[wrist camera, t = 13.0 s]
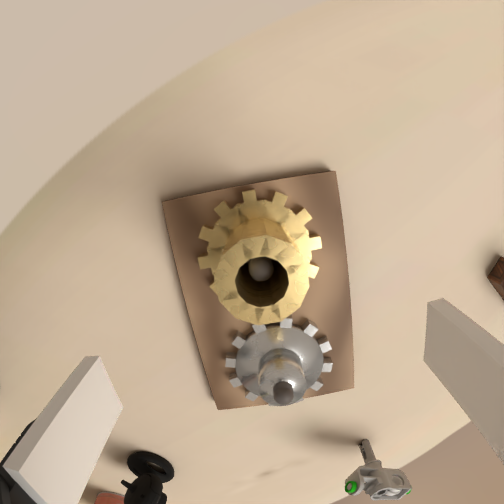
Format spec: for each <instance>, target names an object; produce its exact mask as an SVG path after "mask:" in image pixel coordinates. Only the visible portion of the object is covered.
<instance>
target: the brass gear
mask: <svg viewBox="0 0 504 504" xmlns="http://www.w3.org/2000/svg"><path fill="white" fill-rule="evenodd" d="M242 194H243V200H244V203H238V204H236V205H235V206H234V207H233V208H231V207H230V206H229V205H228V203H227V202H226V201H225V200H224V201H223V202H221V203H220V204H219V205H218V206H217V207H216V208H215V209H214V211H215V212H216V213H217V214H218V215H219V216H220V217H221V218H220V219H219V220H218V221H217V222H216V223H215V226H214V227H211V226H208V225H205V224H204V225H203V226H202V229H201V232H200V235H199V238H200V239H203V240H205V241H208V242H209V244H208V247H207V252H208V253H205V254H200V255H199V256H198V262H199V266H200V269H206V268H211V270H212V274H213V276H214V280H213V281H212V282H211V283H210V286H209V287H210V288H211V289H212V290H213V291H214V292H215V293H216V294H217V295H218V298H219V302H220V303H221V304H222V305H223V306H224V307H225V308H226V309H227V310H228V311H229V312H230V313H231V314H232V315H233V316H234V317H235V318H236V319H239V320H242V321H246V322H249V323H252V324H255V325H263V324H269V323H275V322H281V321H283V320H284V319H285V318H287V317H288V316H289V315H291V314H292V313H293V312H295V311H296V310H297V309H298V308H300V306H301V304H302V302H303V300H304V297H305V295H306V293H307V290H308V288H309V279H308V276H309V277H311V278H314V279H315V276H316V274H317V272H318V269H319V267H318V265H317V264H315V263H313V262H310V261H311V258H312V254H311V250H315V249H321V248H322V246H321V238H320V236H319V235H318V234H314V235H309V233H308V230H307V229H306V228H305V226H304V225H305V224H306V223H307V222H308V221H309V220H311V219H312V217H311V216H310V214H309V213H308V212H307V211H306V209H305V208H304V207H302V208H301V209H299V210H298V211H297V212H296V213H293V212H292V210H291V209H290V208H288V207H285V206H284V205H285V203H286V200H287V197H288V196H287V195H285V194H282V193H279V192H277V191H275V192H274V195H273V198H272V200H271V201H269V200H266V199H261V200H257V198H256V193H255V189H253V190H247V191H242ZM262 256H266V257H269V258H272V259H275V261H274V262H273V267H274V271H273V274H272V276H271V277H270V278H269V279H268V280H266V281H257V280H255V279H253V278H252V276H251V275H250V272H249V265H248V264H247V263H246V262H247V261H248V260H249V259H251V258H256V257H262Z"/></svg>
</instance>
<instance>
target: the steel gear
mask: <svg viewBox="0 0 504 504" xmlns="http://www.w3.org/2000/svg"><path fill="white" fill-rule="evenodd" d="M292 320H293V318H292V314H291V315H289V316H288V317H287V318H285V319H284V320H283V321H281V322H277V323H270V324H263V325H255V324H252V327H253V329H254V330H253V331H252V332H250V333H249V334H248V335H247V336H246V335H245V334H243V333H242V332H240V331H237V332H236V334H235V335H234V336H233V338H232V343H231V344H232V345H234V346H236V347H237V348H238V350H237V354H236V353H232V352H227V354H226V365H225V367H232V368H235V364H236V372H234V373H231V374H230V376H229V381H230V383H231V384H232V386H233V387H237V386H240V385H243V386H244V387H245V388H246V390H245V398H247V399H249V400H251V401H254V400H255V399H256V398H257V397H258V396H261V397H262V399H263V400H264V401H266V402H267V403H268V404H269V406H286V405H280V404H278V403H277V402H276V401H275V400H274V395H273V387H274V385H275V384H276V383H278V382H281V381H286V382H289V383H290V384H291V385H292V387H293V393H294V397H293V400H292V401H291V402H290V403H289V404H287V405H290V404H293V403H297V402H299V401H302V400H304V399H303V395H304V394H305V392H306V390H307V389H309V388H312V389H313V390H315V391H318V390H319V389H320V388H321V387H322V386H323V385H324V384H323V381H322V378H320V377H319V376H320V374H321V372H331V369H332V365H333V362H332V360H331V357H323V353H325V352H327V351H329V350H332V348H331V346H330V344H329V341H328V339H327V336H324V337H322V338H319V339H316V338H315V336H314V334H315V333H316V332H317V331H318V327H317V325H316V324H315V323H314V322H312V321H311V320H309V319H307V320H306V322H305V323H304V324H303V325H302V327H301V326H299V325H296V324H292ZM317 340H318V341H317Z"/></svg>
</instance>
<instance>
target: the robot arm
mask: <svg viewBox="0 0 504 504" xmlns="http://www.w3.org/2000/svg"><path fill="white" fill-rule="evenodd" d="M424 362H425V363H426V364H427V365H428V366H429V368H430V369H431V370H432V371H433V373H434V374H435V375H436V376H437V377H438V379H439V380H440V381H441V382H442V384H443V385H444V386H445V387H446V389H447V390H448V391H449V392H450V394H451V395H452V396H453V397H454V399H455V400H456V401H457V403H458V404H459V405H460V406H461V408H462V409H463V410H464V412H465V413H466V414H467V415H468V417H469V418H470V419H471V421H472V422H473V423H474V424H475V426H476V427H477V429H478V430H479V431H480V433H481V434H482V435H483V437H484V438H485V439H486V441H487V442H488V443H489V445H490V446H491V447H492V449H493V450H494V452H495V453H496V454H497V456H498V457H499V459H500V460H501V461H502V463H503V464H504V345H503V344H502V343H501V342H500V341H498V340H497V339H496V338H495V337H493V336H492V335H491V334H490V333H488V332H487V331H486V330H485V329H483V328H482V327H481V326H479V325H478V324H477V323H476V322H474V321H473V320H472V319H470V318H469V317H468V316H466V315H465V314H464V313H462V312H461V311H460V310H458V309H457V308H456V307H454V306H453V305H452V304H450V303H449V302H448V301H446V300H445V299H444V298H442V299H438V300H435V301H431V302H428V304H427V324H426V339H425V351H424ZM122 409H123V406H122V404H121V402H120V400H119V398H118V395H117V393H116V391H115V389H114V387H113V385H112V383H111V381H110V378H109V376H108V374H107V372H106V369H105V367H104V365H103V362H102V360H101V358H100V356H89V357H85V358H84V359H83V360H82V361H81V362H80V364H79V365H78V366H77V367H76V369H75V370H74V371H73V372H72V374H71V375H70V376H69V377H68V379H67V380H66V381H65V382H64V384H63V385H62V386H61V387H60V389H59V390H58V391H57V393H56V394H55V395H54V396H53V398H52V399H51V400H50V402H49V403H48V404H47V406H46V407H45V408H44V409H43V411H42V412H41V413H40V415H39V416H38V417H37V418H36V419H35V420H34V421H33V422H31V423H30V424H29V425H27V427H26V428H25V429H24V431H23V432H22V433H21V436H19V437H18V439H17V440H16V444H15V443H14V444H13V446H12V447H11V448H10V450H9V451H8V453H7V454H6V455H5V457H4V458H3V460H2V461H1V463H0V504H78V503H79V500H80V498H81V496H82V494H83V491H84V489H85V487H86V485H87V482H88V480H89V478H90V476H91V474H92V472H93V469H94V467H95V465H96V463H97V461H98V459H99V456H100V454H101V452H102V450H103V448H104V446H105V444H106V442H107V440H108V438H109V435H110V433H111V431H112V429H113V427H114V425H115V423H116V421H117V419H118V417H119V415H120V413H121V411H122Z"/></svg>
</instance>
